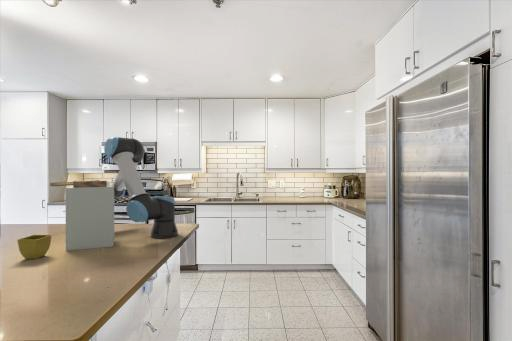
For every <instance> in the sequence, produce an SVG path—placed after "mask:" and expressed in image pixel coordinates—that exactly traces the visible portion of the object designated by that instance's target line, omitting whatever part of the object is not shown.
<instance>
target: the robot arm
mask: <svg viewBox="0 0 512 341" xmlns="http://www.w3.org/2000/svg"><path fill="white" fill-rule="evenodd" d="M104 144H105V145H104V154H105V156H106V157H108V158H111V160H112V162H113V164H116V165H117V168H118V170H119V172H118V174H117V175H116V177H115V179H114V181H113V183H112V185H110V182H109V181H107V186H114V199H120V198H124V196H125V194H126V191H127V194H128V196H129V199H128V203H127V205H126V215H127V216H128V217H129V220H131V221H132V222H134V223H140V222H141V223H143V222H147V221H152V220H153V225H152V228H151V231H150V237H151V238H154V239H169V238H173V237H176V236H178V235H179V232H178V231H179V230H178V228H177V224H176V222H175V221H176V220H175V219H176V216H175V215H176V214H175V213H176V212H175V211H176V209H175V208H176V203H175V202H176V201H175V198H174V197H173V196H163V195H162V196H161V195H154V196H153V198H152V197H151V195H150V193H148V192H146V190H145V187H144V185H143V182H142V179H141V178H140V175H139V173H138V171H137V165H138V164H139V163H141V162H142V161H143V158H144V155H145V148H144V145H143V143H142V142H141V141H139V140H138V139H137V138H129V137H119V136H110V137H109V138H107V139H106V141H105V143H104Z"/></svg>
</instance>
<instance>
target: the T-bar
mask: <svg viewBox="0 0 512 341" xmlns="http://www.w3.org/2000/svg"><path fill="white" fill-rule="evenodd" d="M107 182H108V181H107V180H100V179H92V180H75V181H73V182H72V184H73V186H72V187H73V188H80V187H107Z"/></svg>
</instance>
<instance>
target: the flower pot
mask: <svg viewBox="0 0 512 341" xmlns="http://www.w3.org/2000/svg"><path fill="white" fill-rule="evenodd" d="M16 240H17V244H18V245H17V246H18V250H19V252H20V254H21V256H22V257H23V258H24V259H25V260H26V259H29V260H31V259H33V260H36V259H39V258H41V257H44V256H45V255H46V254H47V253H48V251H49V250H50V247H51V242H52V234H32V235H29V236H25V237H21V238H19V239H16Z"/></svg>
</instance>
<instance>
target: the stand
mask: <svg viewBox="0 0 512 341" xmlns="http://www.w3.org/2000/svg"><path fill="white" fill-rule="evenodd" d="M114 244H115V198H114V186H112V185H110V186H107V187H80V188H73V186H68V187H65V252H68V251H77V250H88V249H89V250H90V249H100V248H111V247H113V246H114Z"/></svg>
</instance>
